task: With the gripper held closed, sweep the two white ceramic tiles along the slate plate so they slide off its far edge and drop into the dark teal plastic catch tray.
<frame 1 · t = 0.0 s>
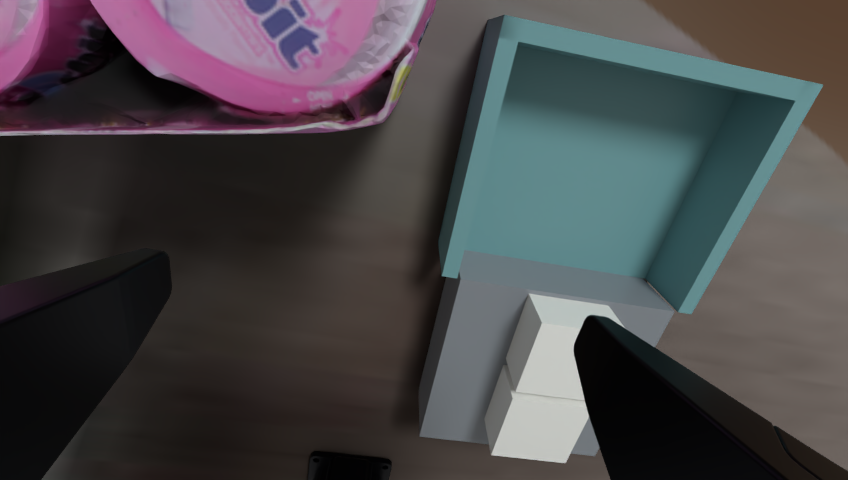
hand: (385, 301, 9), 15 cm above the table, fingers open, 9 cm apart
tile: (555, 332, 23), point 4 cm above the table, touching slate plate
catch tray: (579, 173, 23), on the table
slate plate: (520, 335, 28), on the table
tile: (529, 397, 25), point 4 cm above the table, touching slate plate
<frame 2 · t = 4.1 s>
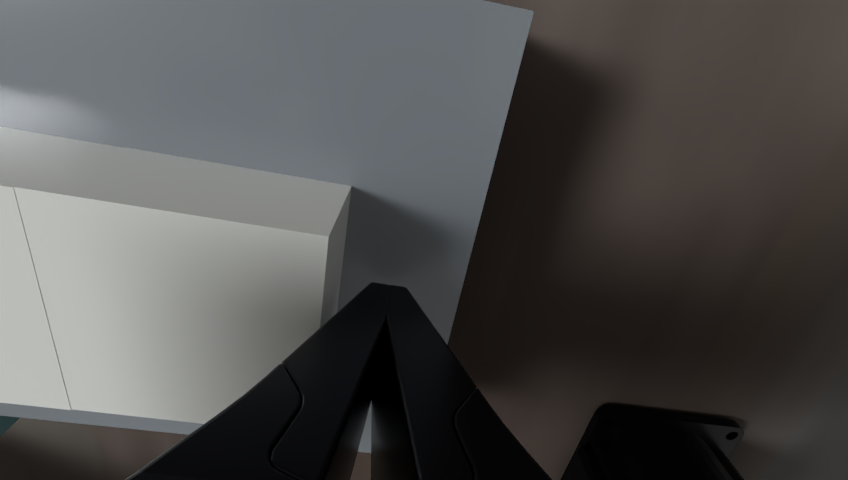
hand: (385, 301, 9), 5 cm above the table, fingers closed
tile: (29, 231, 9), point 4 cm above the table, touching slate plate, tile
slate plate: (261, 196, 13), on the table
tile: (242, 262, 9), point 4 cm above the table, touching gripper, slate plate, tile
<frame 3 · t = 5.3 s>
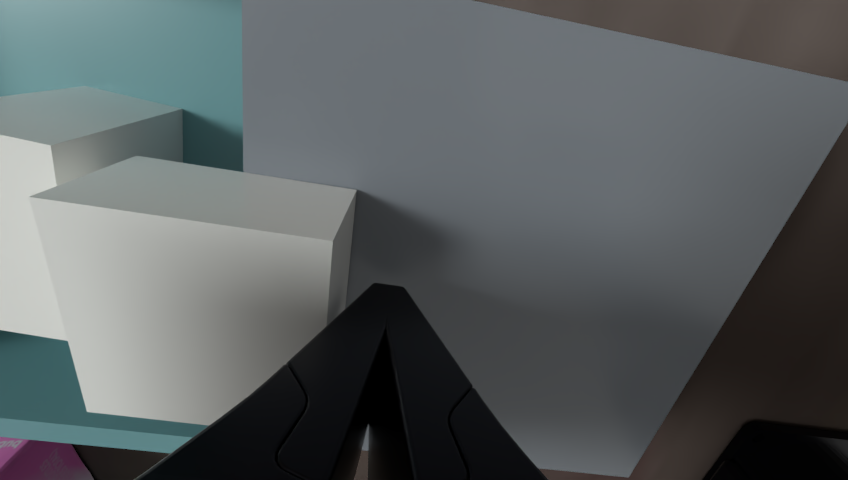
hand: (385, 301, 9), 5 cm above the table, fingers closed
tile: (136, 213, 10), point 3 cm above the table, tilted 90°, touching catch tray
catch tray: (105, 170, 12), on the table
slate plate: (474, 229, 14), on the table
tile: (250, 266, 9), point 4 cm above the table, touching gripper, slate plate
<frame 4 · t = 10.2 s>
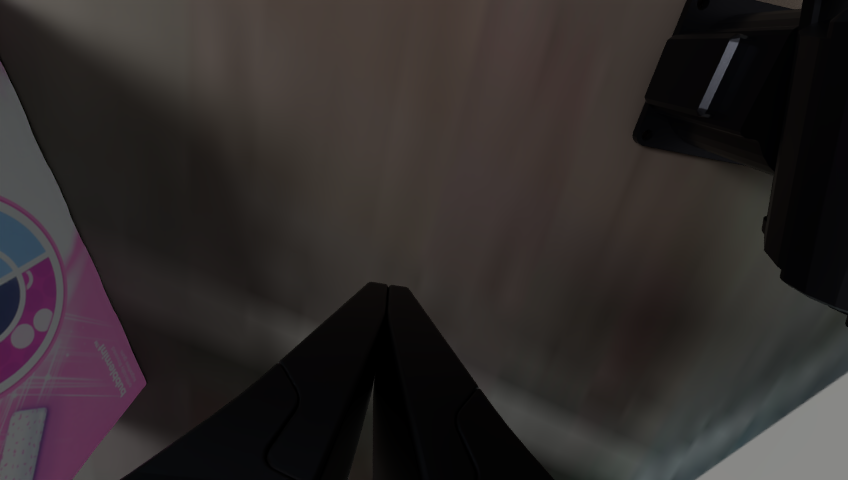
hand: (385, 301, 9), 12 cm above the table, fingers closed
gum box: (10, 227, 22), on the table
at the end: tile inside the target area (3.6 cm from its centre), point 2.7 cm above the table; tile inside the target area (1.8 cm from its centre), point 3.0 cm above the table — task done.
